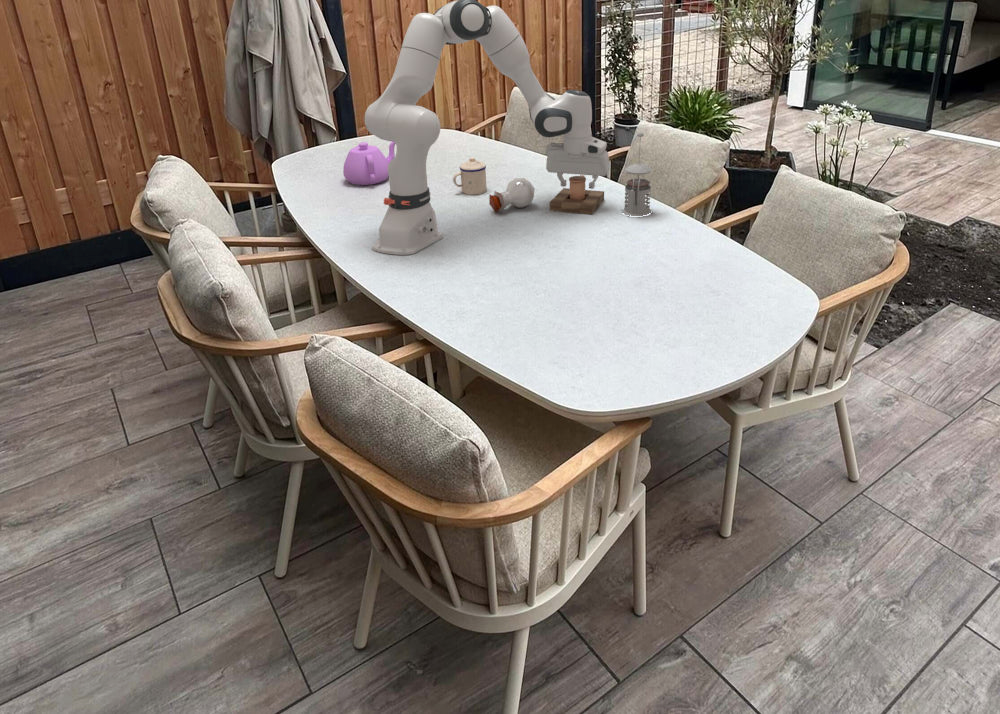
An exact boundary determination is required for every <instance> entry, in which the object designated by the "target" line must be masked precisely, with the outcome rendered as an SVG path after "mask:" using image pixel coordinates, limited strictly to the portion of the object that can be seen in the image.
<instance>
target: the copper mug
mask: <svg viewBox="0 0 1000 714" xmlns="http://www.w3.org/2000/svg"><path fill="white" fill-rule="evenodd" d="M568 181H569V189H570V199H573V200H585V190H586V182H587V178H586V175H580V174H579V175H574V176H570V177H569V178H568Z"/></svg>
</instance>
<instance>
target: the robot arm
mask: <svg viewBox="0 0 1000 714" xmlns="http://www.w3.org/2000/svg"><path fill="white" fill-rule="evenodd" d="M472 40H473V41H474V40H475V41H477V42H478V43H479V44H480V45H481V47H482V48H483V50H484V52H485V53H486V54H487V57H488V58H489V59H490V61H491V63H492V64H493V65H494V67H495V68H497V70H498V71H499V72H500V73H501V74H502V75H503V76H506V77H508V78H509V79H510V80H512V81H513V82H514V83H515V84H516V87H517V88H518V90H519V92H521V95H522V96H523V98H524V100H525V101H526V103H527V106H528V112H529V113H528V114H529V118H530V120H531V123H532V124H533V125H534V128H535V130H536V132H537V133H538V134H539V135H540V136H542V137H544V138H555V137H558V136H563V142H562V143H561V142H550V143H549V144H547V145H546V148H545V151H546V152H545V153H546V155H547V156H546V165H545V169H546V171H547V172H548V173H552V174H554V173H555V174H556V176H557V179H558V180H559V182H560V187H564V188H565V187H566V186H567V181H568V180H567V179H564V177H563V175H564V174H566V175H567V174H569V175H579V176H580V175H585V176H592V177H591V178H592V179H593V180H592V181H589V183H588V189H589V190H594V189H595V187H596V181H597V180H598V178H599V177H606V176H607V175H608V173H610V170H611V169H610V168H611V167H610V165H611V164H610V157H609V156H610V155H609V153H608V151H607V150H606V149H607V147H608V146H607V145H608V144H607V142H606V141H604V140H601V139H599V138H596V137H594V136H593V134H592V133H593V132H592V128H591V125H592V122H593V109H592V107H593V106H592V100H591V99H592V98H591V97H590V95H589V94H588V93H586V92H585V91H582V90H578V89H567V90H565V92H564V93H563V94H561V95H560V96H559V97H557V98H554V97H553V96H551V95H550V94H548V93H547V92H546V91H545V90H544V88H543V86H542V85H541V83H540V81H539V80H538V78H537V76H536V75H535V73H534V72H533V69H532V65H531V60H530V53H529V50H528V48H527V45H526V43H525V41H524V39H523V37H522V34H521V33H520V32H519V29H518V28H517V27H516V26H515V24H514V23H513V21H512V20H511V19H510V17H509V16H508V14H507V13H506V12H505V11H504V9H502V8H501V7H500V6H498V5H488V6H485V5H482V3H480V2H479V1H477V0H453V1H450V2H448V3H446V4H444V5H442V6H440V7H439V8H438V9H437V10H436V11H435V12H434V13H429V12H419V13H417V14H416V15H414V16H413V17H412V19H411V21H410V23H409V25H408V28H407V29H406V33H405V36H404V38H403V41H402V44H401V48H400V52H399V55H398V59H397V62H396V66H395V69H394V72H393V75H392V77H391V79H390V81H389V83H388V85H387V86H386V88H385V90H384V91H383V93H381V95H380V96H379V98H378V99H377V100H375V101H373V102H372V103H371V104H369V106H368V107H367V109H366V110H365V113H364V124H365V127H366V129H367V131H368V132H369V134H371V135H373V136H374V137H376V138H378V139H380V140H383V141H387V142H390V143H391V142H395V143H396V144H395V146H396V152H395V158H394V159H392V160H391V161H390V163H389V164H388V175H389V176H388V182H389V189H390V190H389V193H388V194H389V195H388V197H384V198H383V204H384V206H388V209H387V211H386V213H385V215H384V217H383V219H382V221H381V223H380V226H379V229H378V233H379V234H378V236H379V237H378V239H377V240H376V241H375V242H374V244H373V245H372V246H371V247H372V250H373V251H375V252H378V253H382V254H388V255H398V256H399V255H401V256H403V255H405V256H406V255H407V256H408V255H414V254H416V253H418V252H420V251H421V250H423V249H425V248H427V247H428V246H430V245H432V244H433V243H436V242H437V241H439V240H441V239H442V238H443V234H442V232H440V231H439V227H438V221H437V215H436V211H435V209H434V207H433V206H432V204H431V203H430V202H431V192H430V187H429V186H428V175H427V174H428V173H427V159H428V155H429V150H430V148H432V146H433V145H434V144H435V143H436V141H437V140H438V138H439V137H440V134H441V133H440V132H441V121H440V118H439V117H438V115H437V114H436V113H435V112H434V111H431V110H430V109H428V108H426V107H424V106H421V105H417V103H418V102H419V100H420V99H421V97H423V96H425V95H426V94H427V93H429V92H430V91H431V90H432V88H433V86H434V83H435V78H436V75H437V72H438V68H439V64H440V61H441V56H442V52H443V49H444V47H445V46H446V45H449V46H450V45H451V46H452V45H456V44H465V43H468V42H470V41H472Z"/></svg>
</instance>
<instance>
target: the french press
mask: <svg viewBox="0 0 1000 714" xmlns="http://www.w3.org/2000/svg"><path fill="white" fill-rule="evenodd" d="M636 137H638V138H639V142H641V141H642V140H641V139H642V138H643V137H644V132H642V131H639V132H638V133H637V136H636ZM638 149H639V151H638V154H639V155H638V163H634V164H630V165H628V166H627V167H626V168H625V172H626V174H627V173H628V174H630V175H637V178H636V177H633V178H631V179H629V180H627V181H626V185H625V186H624V187H625V188H624V189H625V190H624V191H625V192H624V195H625V196H624V207H623V209H622V210H621V211H622V213H624V214H625V215H629V216H630V215H631V216H643V215H647V214H649V213H651V210H652V209H651V208H650V207H651V206H650V204H651V201H650V200H651V197H650V196H651V193H650V192H652V191H651V190H652V188H651V186H650V183H651V182H650V180H648V179H644V178H640V175H641V176H642V175H647V174H649V173H651V172H652V171H653V169H652V167H650V166H649V165H648V164H645V163H641V162H640V158H641V157H640V156H641V146H639V148H638ZM622 213H621V214H622Z"/></svg>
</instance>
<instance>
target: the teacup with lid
mask: <svg viewBox="0 0 1000 714" xmlns="http://www.w3.org/2000/svg"><path fill="white" fill-rule="evenodd" d="M486 165H487V164H486V163H484V162H483V161H479V160H476V157H474V156H473V157H469V159H468V160H467V161H466V162H463V163H461V164H460V165H459V172H457V173H455V174H454V175H453V177H452V182H453V184H454V186H456V187H457V188H461V192H462V193H463V194H465V195H470V196H473V195H474V196H475V195H481V194H484V193H486V192H487V172H486V170H487V169H486V168H487V166H486ZM458 176H460V182H461V184H458V183H457V181H456V180H457V179H456V178H457V177H458Z"/></svg>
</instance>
